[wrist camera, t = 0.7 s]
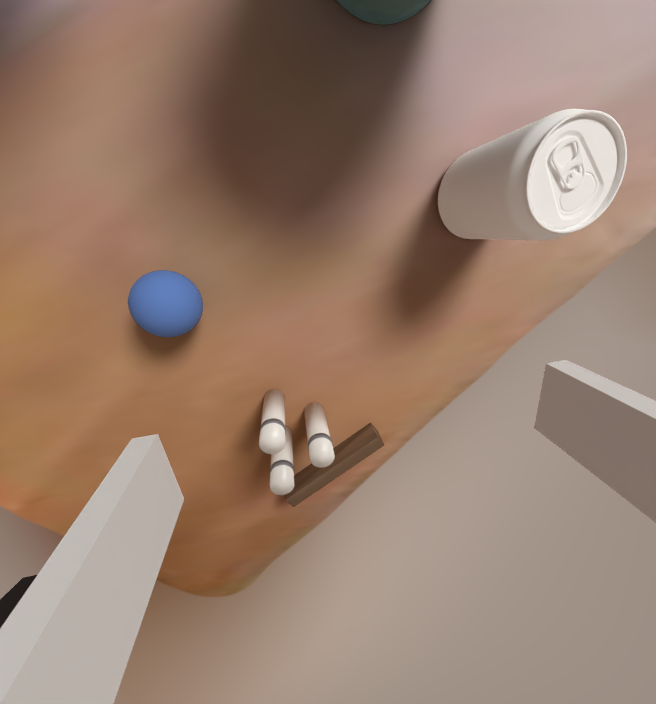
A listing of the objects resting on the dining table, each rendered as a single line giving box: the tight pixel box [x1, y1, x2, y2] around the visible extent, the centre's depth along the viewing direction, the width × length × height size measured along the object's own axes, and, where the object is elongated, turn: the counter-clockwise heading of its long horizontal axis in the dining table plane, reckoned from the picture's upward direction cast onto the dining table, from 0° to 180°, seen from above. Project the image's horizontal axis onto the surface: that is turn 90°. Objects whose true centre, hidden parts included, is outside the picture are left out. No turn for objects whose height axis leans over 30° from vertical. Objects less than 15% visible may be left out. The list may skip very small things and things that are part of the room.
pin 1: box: [270, 426, 294, 495], centre depth 34 cm, size 2×2×8 cm
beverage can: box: [438, 109, 627, 240], centre depth 26 cm, size 8×8×12 cm
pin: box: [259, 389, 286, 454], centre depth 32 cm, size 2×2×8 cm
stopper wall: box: [285, 423, 384, 507], centre depth 39 cm, size 2×14×3 cm, turn 126°
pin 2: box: [304, 403, 335, 468], centre depth 34 cm, size 2×2×8 cm
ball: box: [128, 270, 203, 337], centre depth 28 cm, size 6×6×6 cm
